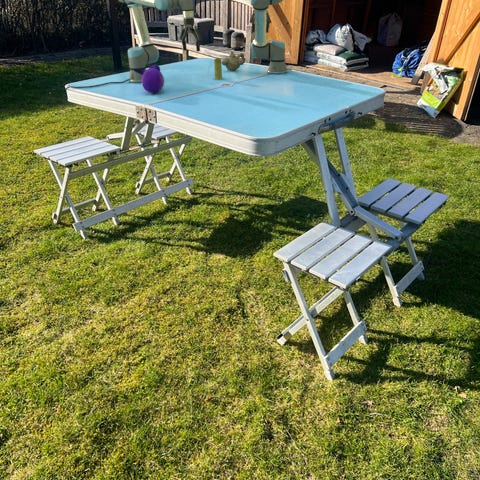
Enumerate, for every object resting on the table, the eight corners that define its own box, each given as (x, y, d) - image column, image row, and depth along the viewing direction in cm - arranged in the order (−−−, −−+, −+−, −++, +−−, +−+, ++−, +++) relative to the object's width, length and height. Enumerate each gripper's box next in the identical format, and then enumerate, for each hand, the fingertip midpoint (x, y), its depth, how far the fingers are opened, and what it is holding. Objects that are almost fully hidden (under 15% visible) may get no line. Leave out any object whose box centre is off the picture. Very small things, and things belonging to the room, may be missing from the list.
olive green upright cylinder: (224, 78, 343) (223, 58, 335) (219, 79, 339) (218, 59, 331) (217, 77, 346) (217, 57, 339) (212, 78, 342) (211, 59, 335)
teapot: (225, 73, 360) (224, 53, 352) (218, 71, 369) (217, 51, 361) (248, 70, 369) (247, 50, 362) (240, 68, 378) (240, 49, 370)
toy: (156, 85, 322) (164, 98, 301) (131, 81, 314) (137, 93, 294) (160, 63, 314) (168, 74, 293) (135, 58, 306) (141, 69, 286)
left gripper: (205, 17, 306) (207, 50, 316) (180, 17, 320) (183, 49, 330) (197, 18, 301) (200, 52, 311) (172, 18, 315) (175, 50, 326)
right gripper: (275, 3, 359) (275, 32, 370) (250, 3, 372) (250, 31, 383) (270, 4, 354) (270, 33, 365) (245, 3, 367) (245, 32, 378)
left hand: (191, 50), depth 321 cm, fingers open, 13 cm apart
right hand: (260, 32), depth 374 cm, fingers open, 13 cm apart
